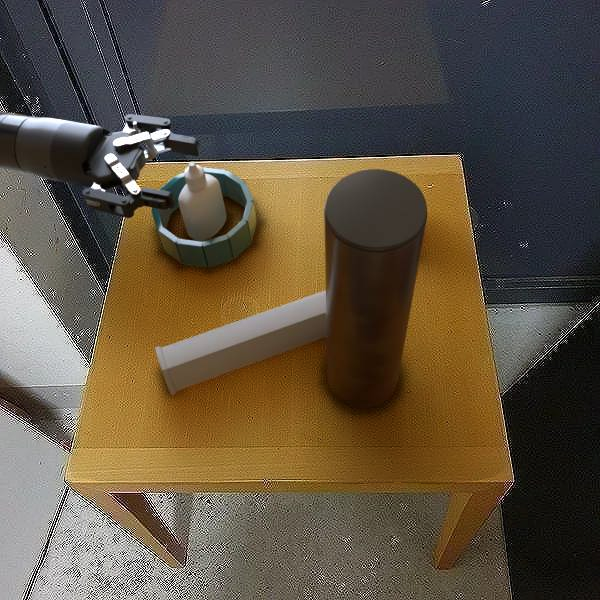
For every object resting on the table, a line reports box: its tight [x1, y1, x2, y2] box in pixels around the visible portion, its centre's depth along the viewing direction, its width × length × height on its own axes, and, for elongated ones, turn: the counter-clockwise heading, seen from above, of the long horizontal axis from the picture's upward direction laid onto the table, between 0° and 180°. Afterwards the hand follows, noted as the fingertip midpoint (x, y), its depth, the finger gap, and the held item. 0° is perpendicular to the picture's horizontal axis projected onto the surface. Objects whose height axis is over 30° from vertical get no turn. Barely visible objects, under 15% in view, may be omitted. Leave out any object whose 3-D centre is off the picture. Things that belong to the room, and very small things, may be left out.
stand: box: [323, 168, 428, 409], centre depth 66 cm, size 8×8×30 cm
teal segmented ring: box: [150, 166, 258, 268], centre depth 89 cm, size 13×13×4 cm
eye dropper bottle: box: [178, 161, 228, 242], centre depth 86 cm, size 4×6×12 cm
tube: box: [154, 289, 327, 396], centre depth 79 cm, size 5×5×25 cm
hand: (186, 173), depth 83 cm, fingers open, 8 cm apart
